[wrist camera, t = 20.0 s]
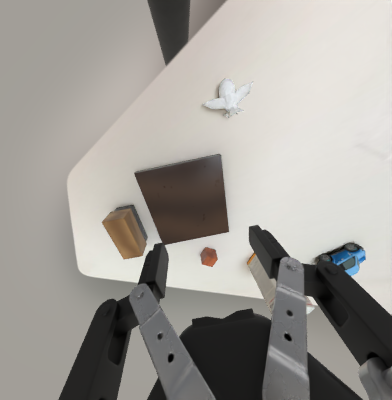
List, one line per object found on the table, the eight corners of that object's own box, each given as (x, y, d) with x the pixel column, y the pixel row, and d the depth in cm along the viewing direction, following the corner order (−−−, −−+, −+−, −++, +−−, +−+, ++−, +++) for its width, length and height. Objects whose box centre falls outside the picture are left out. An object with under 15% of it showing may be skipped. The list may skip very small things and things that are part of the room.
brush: (132, 240, 34) (123, 259, 29) (115, 206, 29) (101, 222, 24) (148, 237, 34) (142, 256, 29) (133, 203, 29) (123, 218, 24)
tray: (136, 171, 26) (134, 173, 25) (219, 153, 26) (220, 154, 25) (164, 241, 35) (163, 245, 33) (227, 228, 34) (229, 231, 33)
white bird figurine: (248, 65, 20) (266, 67, 17) (249, 101, 23) (264, 109, 20) (196, 89, 21) (204, 95, 18) (204, 120, 24) (212, 131, 21)
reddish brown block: (210, 257, 38) (200, 254, 38) (215, 249, 37) (205, 247, 36) (212, 267, 36) (201, 264, 35) (217, 259, 34) (207, 256, 34)
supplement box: (246, 263, 40) (271, 317, 29) (254, 251, 39) (285, 304, 27) (269, 267, 42) (301, 320, 31) (278, 257, 40) (317, 308, 29)
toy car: (356, 251, 42) (379, 268, 37) (316, 268, 44) (333, 286, 39) (354, 239, 40) (380, 255, 34) (312, 257, 42) (330, 275, 37)
